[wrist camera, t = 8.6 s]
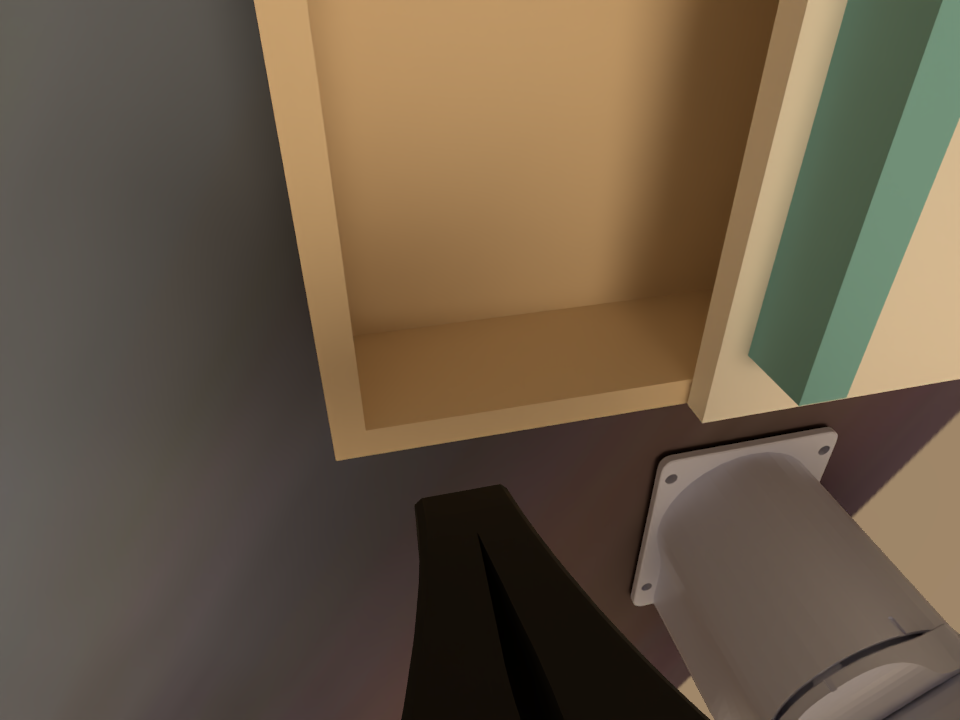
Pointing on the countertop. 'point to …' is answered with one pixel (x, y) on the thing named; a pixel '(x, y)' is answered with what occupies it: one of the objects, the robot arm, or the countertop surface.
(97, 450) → the countertop surface
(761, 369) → the tan board with ridge
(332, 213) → the mailer
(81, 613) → the countertop surface
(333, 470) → the countertop surface
